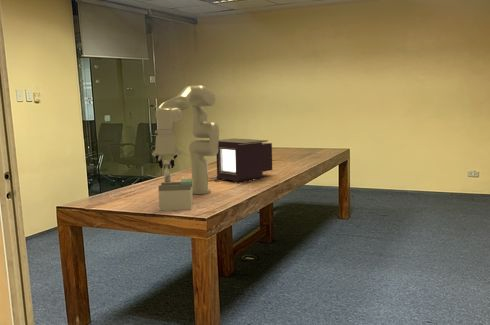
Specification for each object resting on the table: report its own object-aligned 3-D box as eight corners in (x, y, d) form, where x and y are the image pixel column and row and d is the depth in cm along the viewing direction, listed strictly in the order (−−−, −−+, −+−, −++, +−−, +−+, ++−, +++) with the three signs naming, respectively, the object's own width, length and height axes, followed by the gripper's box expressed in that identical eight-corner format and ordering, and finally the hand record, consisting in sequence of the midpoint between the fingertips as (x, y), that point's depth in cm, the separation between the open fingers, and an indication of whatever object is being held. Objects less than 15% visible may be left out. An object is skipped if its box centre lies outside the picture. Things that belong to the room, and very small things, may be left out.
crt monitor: (244, 184, 299) (243, 143, 296) (210, 178, 324) (209, 140, 321) (280, 177, 323) (279, 139, 320) (246, 172, 348) (245, 137, 345)
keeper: (182, 181, 241) (182, 179, 241) (191, 181, 241) (191, 178, 241) (180, 184, 232) (180, 182, 232) (190, 184, 233) (190, 181, 232)
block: (163, 205, 244) (161, 182, 242) (193, 204, 245) (192, 181, 243) (159, 210, 232) (158, 186, 231) (191, 209, 233) (190, 185, 231)
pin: (163, 181, 239) (162, 160, 237) (173, 180, 239) (172, 159, 237) (162, 182, 234) (160, 161, 232) (171, 182, 234) (170, 161, 233)
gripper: (147, 133, 229) (149, 169, 231) (181, 132, 230) (182, 168, 232) (149, 132, 237) (151, 167, 239) (182, 131, 237) (184, 166, 239)
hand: (166, 167), depth 235 cm, fingers closed on pin, 5 cm apart
